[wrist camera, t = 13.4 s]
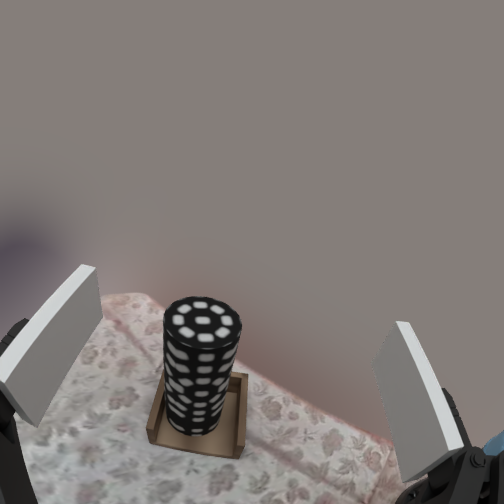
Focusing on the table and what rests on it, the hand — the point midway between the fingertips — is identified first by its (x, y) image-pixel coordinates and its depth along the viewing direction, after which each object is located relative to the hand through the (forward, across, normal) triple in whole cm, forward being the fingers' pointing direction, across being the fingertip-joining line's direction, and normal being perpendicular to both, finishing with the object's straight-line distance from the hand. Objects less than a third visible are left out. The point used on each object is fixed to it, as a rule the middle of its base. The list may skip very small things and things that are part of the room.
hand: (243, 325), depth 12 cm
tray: (+14, -3, -34) cm, 36 cm away
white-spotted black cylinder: (+14, -4, -33) cm, 36 cm away
